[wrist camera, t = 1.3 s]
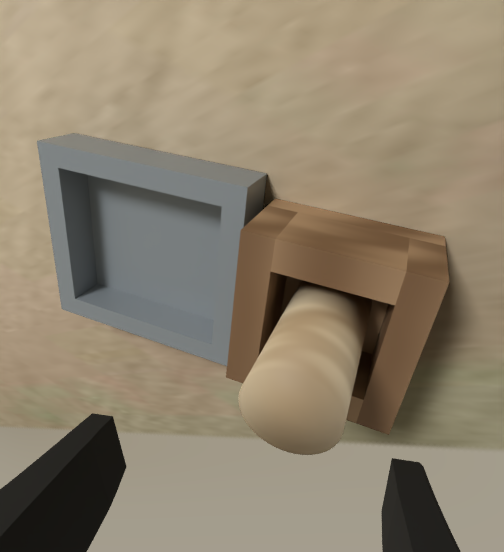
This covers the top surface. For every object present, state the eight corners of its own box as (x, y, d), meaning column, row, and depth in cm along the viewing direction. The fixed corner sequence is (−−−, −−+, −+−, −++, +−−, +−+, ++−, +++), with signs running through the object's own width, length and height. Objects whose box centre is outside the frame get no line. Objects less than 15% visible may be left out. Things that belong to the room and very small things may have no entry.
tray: (267, 173, 18) (247, 187, 16) (246, 340, 22) (229, 367, 20) (73, 133, 20) (36, 140, 18) (90, 289, 25) (61, 309, 23)
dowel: (380, 277, 17) (356, 392, 11) (361, 339, 18) (331, 469, 12) (304, 257, 18) (243, 355, 12) (292, 318, 19) (234, 431, 13)
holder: (444, 236, 16) (449, 282, 13) (395, 371, 20) (388, 434, 16) (275, 198, 18) (240, 229, 15) (257, 328, 21) (226, 377, 18)
